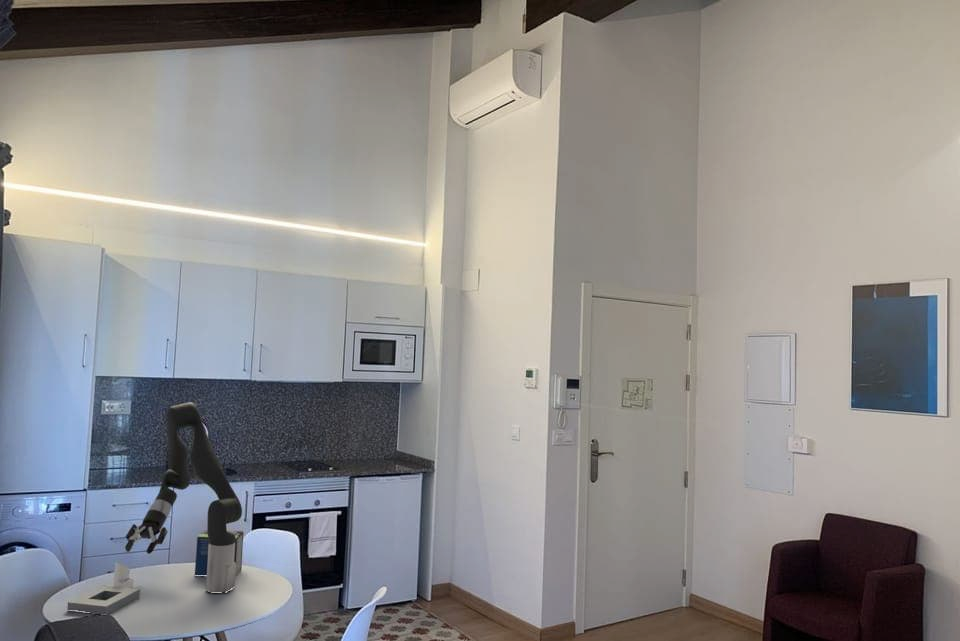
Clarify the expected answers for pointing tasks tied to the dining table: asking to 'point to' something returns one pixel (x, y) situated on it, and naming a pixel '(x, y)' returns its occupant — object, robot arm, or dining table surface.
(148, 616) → the dining table surface
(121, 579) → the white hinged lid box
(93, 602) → the socket plate
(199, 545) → the protein box
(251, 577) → the dining table surface
